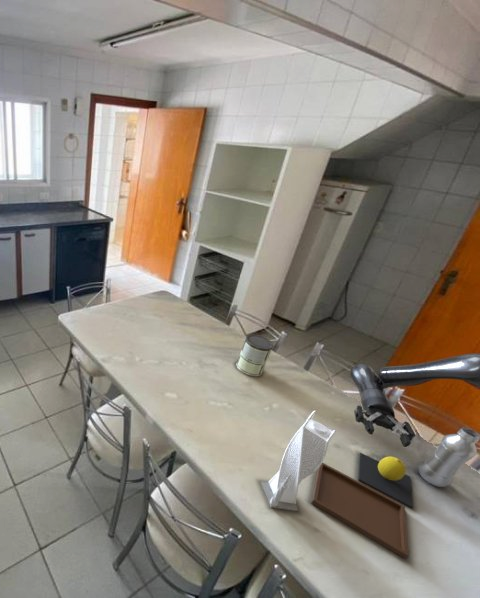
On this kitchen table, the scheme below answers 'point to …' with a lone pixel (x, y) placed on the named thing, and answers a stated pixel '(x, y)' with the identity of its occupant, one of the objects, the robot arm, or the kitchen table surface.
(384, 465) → the lemon
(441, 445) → the silver metal flask
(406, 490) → the plate
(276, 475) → the skyscraper
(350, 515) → the tray
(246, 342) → the coffee can
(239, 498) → the kitchen table surface
